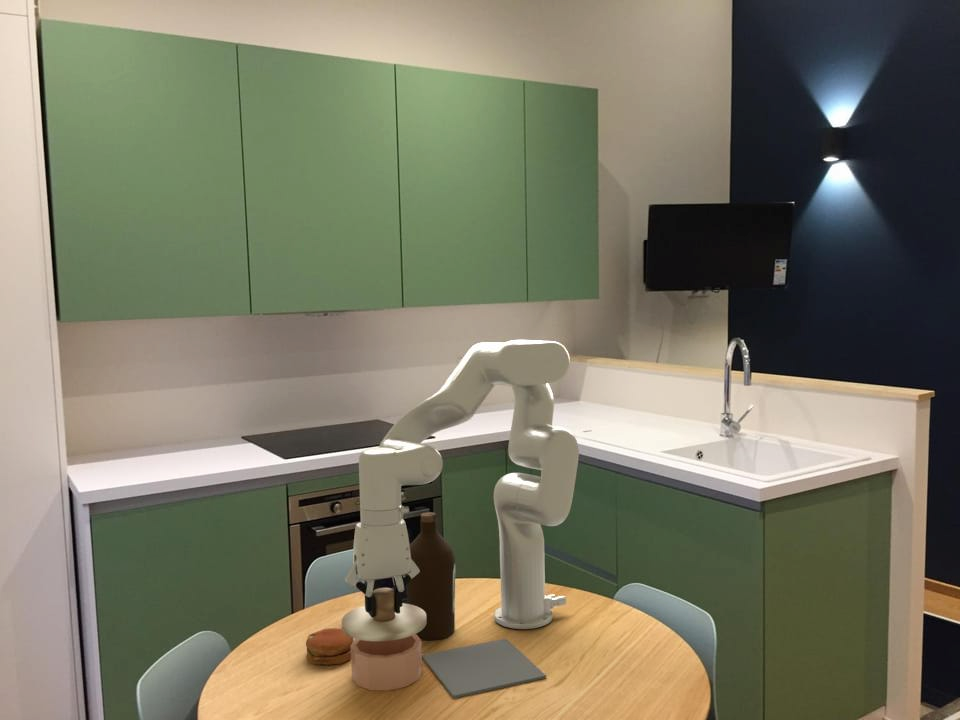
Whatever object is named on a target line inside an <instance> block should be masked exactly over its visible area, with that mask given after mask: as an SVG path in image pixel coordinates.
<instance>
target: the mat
mask: <svg viewBox="0 0 960 720" xmlns="http://www.w3.org/2000/svg"><path fill="white" fill-rule="evenodd" d="M422 661H424V663H425V664H426V665H427V667H428V668H429V669H430V670H431V672H432V673H433V674H434V675H435V677H436V678H437V679H438V681H439V682H440V684H442V686H443V687H444V688H445V690H447V692H448V694H449V695H450V696H451V697H452V698H453V699H457V698H462V697H467V696H470V695H474V694H479V693H485V692H489V691H494V690H498V689H499V690H500V689H503V688H506V687H511V686H516V685H521V684H526V683H531V682H535V681H539V680H544V679H547V675H546V674H545V673H544V672H543V671H542V670H541V669H540V668H539V667H537V666H536V665H535V664H534V662H532V660H531V659H529V658H528V657H527V656H526V655H525V654H524V653H523V652H521V651H520V649H518V647H516V646H515V645H514V644H513V643H512V642H511V641H510V640H509V639H507V638H503V639H497V640H492V641H487V642H482V643H477V644H472V645H471V644H470V645H467V646H461V647H455V648H450V649H445V650H440V651H436V652H431V653H426V654H422Z"/></svg>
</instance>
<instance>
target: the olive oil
mask: <svg viewBox="0 0 960 720" xmlns="http://www.w3.org/2000/svg"><path fill="white" fill-rule="evenodd" d="M419 522H420V533H419V534H417V536H416V538H415V539H414V540H413V541H412V542H411V543H409V544H410V555H411V559H412V560H413V561H414V563H415V564H416V566H417V567H418V568H419V570H420V572H419V573H418V574H417V575H416V576H415V577H413V578H412V579H411V580H410V582H409V583H408V584H407V585H406V587H407V599H408V604H410V605H414V606H417V607H419V608H421V609H423V610H424V611H425V613H426V619H427V623H426V626H425V627H424V628H423V629H422V630H421V631H420V632H418V633H416V634H417V636H418V637H419V638H420V639H421V641H422V640H423V641H437V640H441V639H442V640H443V639H446V638H448V637H450V636H451V635H453V633H454V632H455V631H456V630H455V628H456V625H455V624H456V623H455V622H456V621H455V619H456V614H455V611H456V605H455V602H456V564H457V563H456V556H455V555H456V554H455V551H454V548H453V547H452V545H451V544H450V542H448V541H447V540H446V539H445V538H444V537H443V536H442V535H441V534H440V533H439V532H438V521H437V514H436V512H431V511H429V512H428V511H427V512H423V513H421V514H420V521H419Z"/></svg>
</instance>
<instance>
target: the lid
mask: <svg viewBox="0 0 960 720" xmlns="http://www.w3.org/2000/svg"><path fill="white" fill-rule="evenodd" d="M373 595H374V596H375V605H376V617H374V618H372V617H371V616H370V615H369V613H368V612H366V610H365V605H362V606H359V607H356V608H354V609H352V610H350V611H348V612H347V613H345V614H344V615H343V617H342V618H341V629H342V630H343V632H344V633H345V634H346V635H348V636H349V637H352V638H353V639H354V640H355V639H358V640H364V641H391V640H397V639H402V638H406V637H409V636H412V635H414V634H416V633H418V632H420V631H421V630H422V629H423V628H424V627H425V626H426V623H427V619H426V613H425V611H424V610H423V609H421V608H419V607H417V606H414V605H410V604H405V603H402V607H400V613H399V614H397V613H395V597H394V589H392V588H378V589H375V590H374V591H373Z"/></svg>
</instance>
